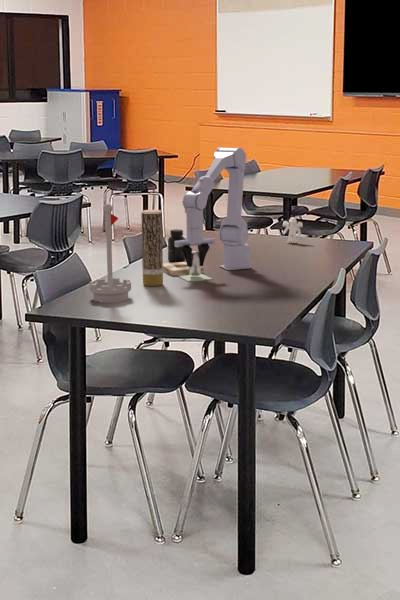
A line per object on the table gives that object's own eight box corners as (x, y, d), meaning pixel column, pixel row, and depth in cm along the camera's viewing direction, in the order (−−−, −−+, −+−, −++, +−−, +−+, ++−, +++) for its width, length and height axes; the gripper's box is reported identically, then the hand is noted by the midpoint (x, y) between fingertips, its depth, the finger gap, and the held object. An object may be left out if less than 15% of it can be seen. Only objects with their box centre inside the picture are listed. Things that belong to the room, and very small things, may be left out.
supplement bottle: (165, 262, 343) (164, 231, 341) (172, 258, 350) (171, 228, 347) (181, 263, 341) (181, 231, 338) (188, 260, 347) (188, 229, 344)
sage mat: (202, 275, 318) (202, 273, 318) (212, 279, 310) (212, 278, 310) (178, 277, 315) (178, 276, 315) (188, 281, 307) (187, 280, 307)
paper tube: (166, 283, 305) (164, 210, 299) (158, 287, 298) (157, 212, 293) (147, 282, 307) (145, 209, 301) (139, 286, 300) (138, 212, 295)
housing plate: (189, 266, 333) (189, 261, 333) (203, 273, 321) (203, 267, 320) (158, 269, 329) (158, 263, 329) (172, 276, 316) (172, 270, 316)
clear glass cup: (197, 273, 315) (197, 250, 313) (202, 275, 311) (202, 252, 310) (187, 274, 313) (186, 251, 312) (191, 276, 310) (191, 253, 308)
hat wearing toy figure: (303, 243, 384) (304, 215, 381) (300, 244, 381) (300, 216, 378) (283, 241, 388) (284, 214, 385) (280, 242, 385) (280, 215, 382)
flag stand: (114, 305, 274) (111, 207, 267) (81, 300, 281) (77, 204, 274) (139, 296, 285) (137, 202, 278) (107, 292, 292) (104, 200, 285)
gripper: (209, 224, 315) (209, 262, 318) (171, 227, 309) (171, 265, 312) (217, 227, 308) (217, 265, 311) (178, 229, 303) (179, 269, 306)
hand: (195, 266), depth 311 cm, fingers closed on clear glass cup, 4 cm apart
